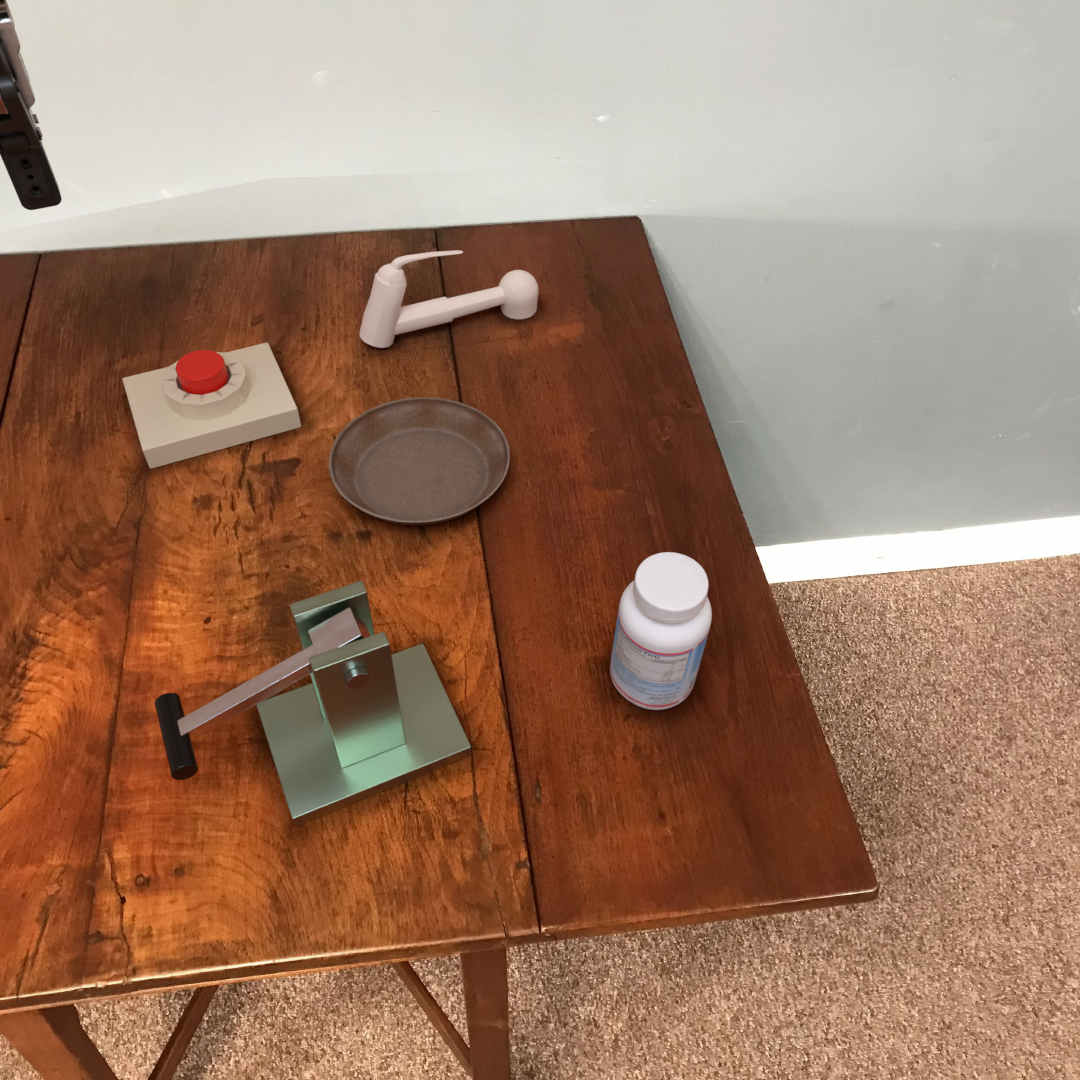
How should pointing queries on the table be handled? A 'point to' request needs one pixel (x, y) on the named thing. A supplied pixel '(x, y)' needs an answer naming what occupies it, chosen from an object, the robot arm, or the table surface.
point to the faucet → (437, 302)
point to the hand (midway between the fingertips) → (42, 201)
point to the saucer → (419, 460)
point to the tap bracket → (357, 716)
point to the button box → (211, 408)
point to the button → (202, 372)
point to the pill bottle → (661, 631)
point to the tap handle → (246, 693)
